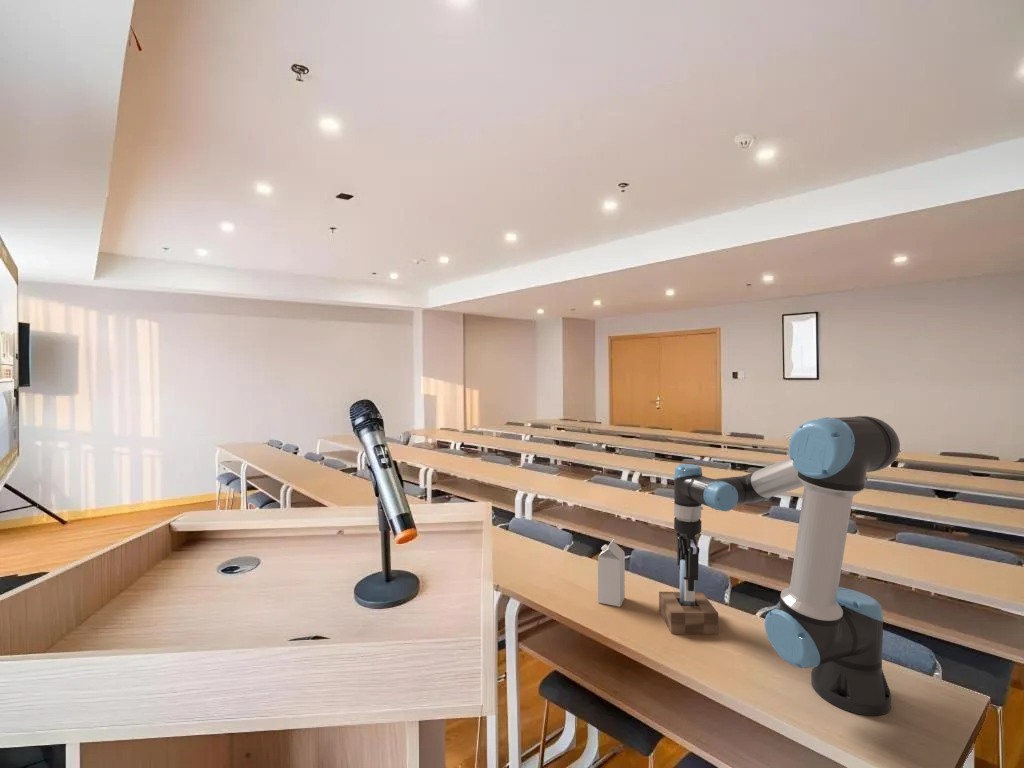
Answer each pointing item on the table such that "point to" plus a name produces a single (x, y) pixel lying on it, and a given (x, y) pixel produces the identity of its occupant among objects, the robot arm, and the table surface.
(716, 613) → the socket block
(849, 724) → the table surface
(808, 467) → the robot arm
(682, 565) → the peg
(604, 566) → the milk carton
